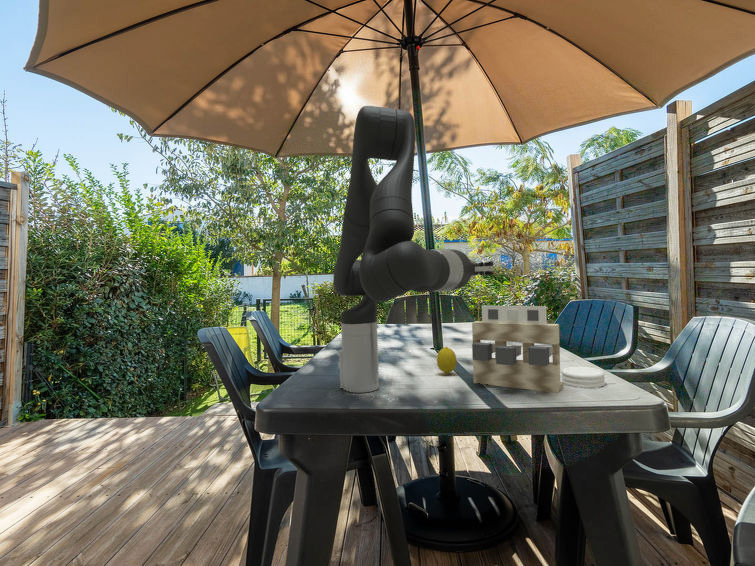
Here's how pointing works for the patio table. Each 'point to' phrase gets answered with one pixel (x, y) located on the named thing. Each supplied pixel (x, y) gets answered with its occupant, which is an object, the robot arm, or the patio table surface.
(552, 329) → the board
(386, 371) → the patio table surface
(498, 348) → the button mid
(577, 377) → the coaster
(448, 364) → the lemon
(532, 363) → the button right
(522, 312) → the card
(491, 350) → the button left
